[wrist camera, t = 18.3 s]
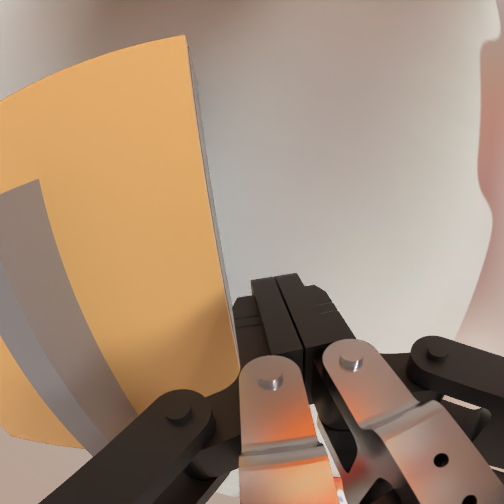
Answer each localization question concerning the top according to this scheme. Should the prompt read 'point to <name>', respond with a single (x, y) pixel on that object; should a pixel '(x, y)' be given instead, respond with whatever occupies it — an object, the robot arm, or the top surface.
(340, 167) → the top surface
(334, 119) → the top surface
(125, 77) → the lid
